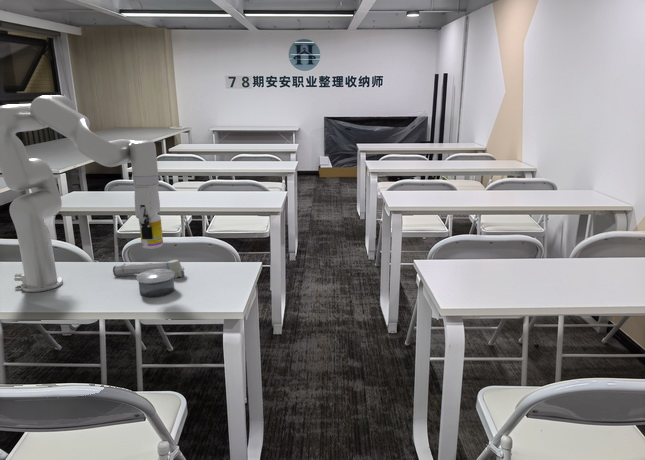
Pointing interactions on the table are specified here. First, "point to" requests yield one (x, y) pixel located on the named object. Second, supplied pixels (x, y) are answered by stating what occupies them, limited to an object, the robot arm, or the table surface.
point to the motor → (156, 282)
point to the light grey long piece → (148, 268)
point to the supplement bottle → (156, 232)
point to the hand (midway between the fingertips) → (151, 235)
